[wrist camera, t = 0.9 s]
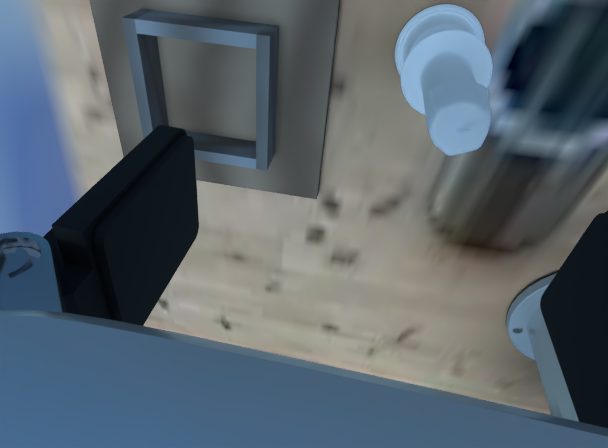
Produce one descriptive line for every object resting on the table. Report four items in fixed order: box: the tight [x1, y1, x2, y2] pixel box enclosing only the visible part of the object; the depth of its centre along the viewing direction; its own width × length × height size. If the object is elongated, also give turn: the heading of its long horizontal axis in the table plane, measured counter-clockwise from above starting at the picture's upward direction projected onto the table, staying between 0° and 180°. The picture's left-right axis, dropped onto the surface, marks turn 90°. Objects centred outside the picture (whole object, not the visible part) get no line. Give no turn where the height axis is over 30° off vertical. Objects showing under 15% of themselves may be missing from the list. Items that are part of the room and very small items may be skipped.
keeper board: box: [90, 0, 340, 199], centre depth 29 cm, size 16×16×4 cm
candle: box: [395, 4, 493, 155], centre depth 22 cm, size 5×5×12 cm
